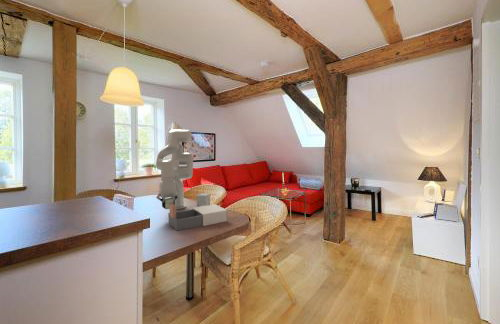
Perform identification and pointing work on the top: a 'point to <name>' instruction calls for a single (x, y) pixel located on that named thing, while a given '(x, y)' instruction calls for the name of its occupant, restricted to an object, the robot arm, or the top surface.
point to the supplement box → (203, 199)
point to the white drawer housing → (212, 214)
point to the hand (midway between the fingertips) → (168, 206)
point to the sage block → (168, 202)
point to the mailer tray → (184, 218)
